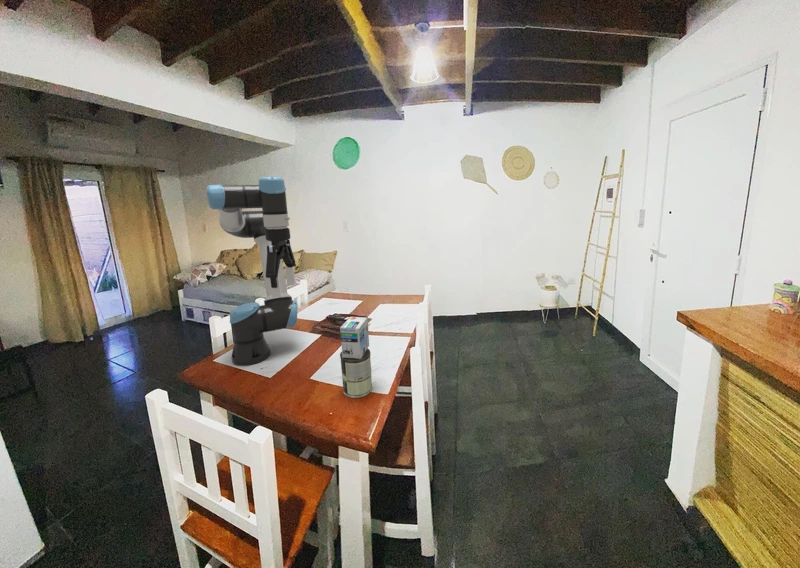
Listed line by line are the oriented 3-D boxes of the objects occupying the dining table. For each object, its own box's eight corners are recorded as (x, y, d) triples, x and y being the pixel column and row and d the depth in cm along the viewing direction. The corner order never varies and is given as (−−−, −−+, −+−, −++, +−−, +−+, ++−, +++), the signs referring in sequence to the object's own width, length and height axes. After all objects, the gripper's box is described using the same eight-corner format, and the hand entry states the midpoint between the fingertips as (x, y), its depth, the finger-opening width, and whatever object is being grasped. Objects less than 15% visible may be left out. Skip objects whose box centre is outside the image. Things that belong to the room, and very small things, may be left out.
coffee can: (336, 392, 109) (333, 355, 105) (356, 378, 117) (354, 343, 114) (358, 401, 103) (356, 363, 100) (378, 386, 111) (376, 350, 108)
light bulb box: (361, 359, 102) (359, 328, 99) (341, 358, 103) (339, 327, 101) (369, 345, 112) (368, 316, 110) (351, 344, 113) (349, 316, 111)
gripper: (273, 232, 89) (282, 302, 95) (300, 224, 113) (306, 280, 119) (247, 232, 89) (257, 302, 95) (279, 224, 113) (286, 280, 119)
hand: (284, 290), depth 107 cm, fingers open, 13 cm apart
